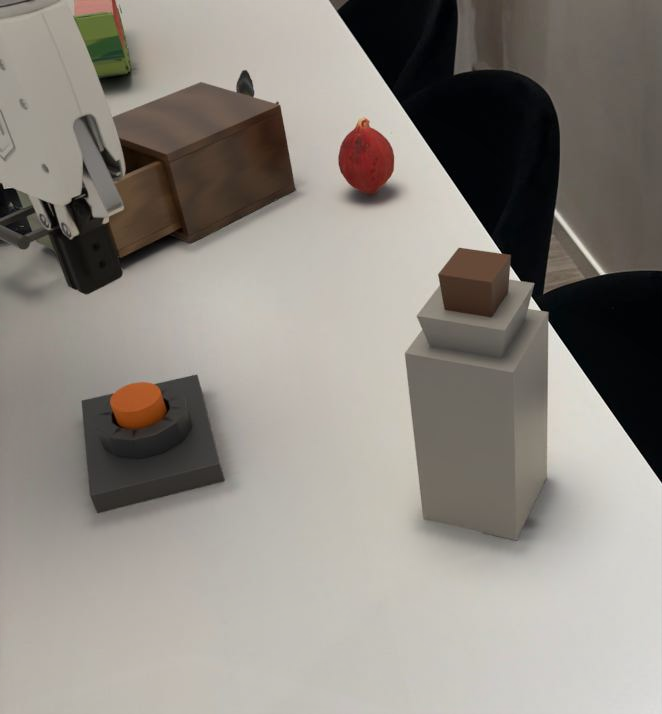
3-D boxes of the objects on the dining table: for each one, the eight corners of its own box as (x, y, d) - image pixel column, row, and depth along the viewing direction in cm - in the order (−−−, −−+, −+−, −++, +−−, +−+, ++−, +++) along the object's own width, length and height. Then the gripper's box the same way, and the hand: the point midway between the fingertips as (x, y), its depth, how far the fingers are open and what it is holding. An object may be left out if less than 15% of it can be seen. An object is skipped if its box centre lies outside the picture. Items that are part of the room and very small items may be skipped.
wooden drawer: (53, 299, 88) (23, 225, 83) (-15, 265, 94) (-46, 193, 89) (214, 219, 99) (196, 148, 94) (145, 192, 104) (125, 124, 99)
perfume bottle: (516, 540, 64) (511, 303, 52) (423, 519, 66) (397, 285, 54) (547, 477, 69) (549, 244, 56) (458, 458, 71) (442, 230, 58)
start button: (115, 407, 72) (108, 388, 71) (164, 396, 73) (157, 377, 71) (118, 435, 69) (111, 416, 68) (169, 423, 70) (163, 404, 69)
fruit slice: (88, 41, 146) (65, -32, 139) (130, 36, 147) (110, -38, 140) (92, 100, 128) (66, 19, 121) (140, 93, 129) (117, 12, 122)
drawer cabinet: (190, 243, 97) (166, 154, 91) (115, 212, 103) (87, 126, 97) (295, 189, 105) (280, 104, 99) (220, 163, 111) (201, 81, 105)
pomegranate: (384, 209, 101) (375, 132, 95) (334, 203, 102) (323, 127, 97) (405, 185, 105) (398, 110, 99) (357, 180, 106) (347, 106, 101)
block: (88, 417, 76) (73, 381, 74) (202, 391, 78) (191, 355, 76) (97, 513, 68) (81, 476, 66) (224, 481, 70) (213, 443, 68)
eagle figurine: (299, 125, 115) (266, 89, 120) (263, 84, 109) (230, 48, 114) (254, 170, 116) (223, 133, 121) (215, 132, 110) (184, 95, 115)
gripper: (-151, -27, 53) (-15, 276, 65) (-1, 11, 46) (118, 343, 58) (-26, -59, 57) (79, 232, 69) (129, -29, 50) (214, 289, 62)
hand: (96, 282), depth 64 cm, fingers closed
